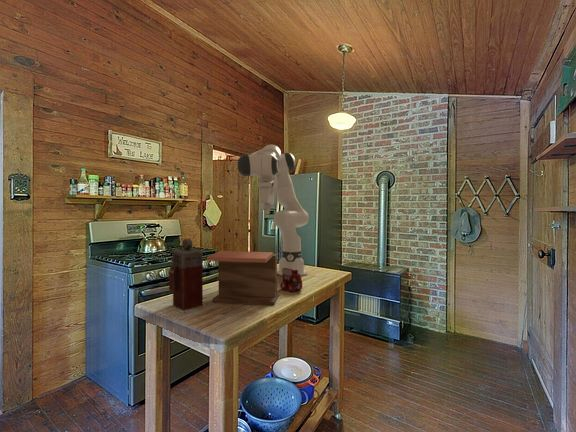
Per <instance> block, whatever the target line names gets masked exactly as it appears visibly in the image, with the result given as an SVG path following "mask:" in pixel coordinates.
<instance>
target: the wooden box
mask: <svg viewBox="0 0 576 432" xmlns="http://www.w3.org/2000/svg"><path fill="white" fill-rule="evenodd" d="M217 262H218V294H216V295H215V296H214V297H213V298H212V303H217V304H218V303H220V304H221V303H222V304H223V303H224V304H238V305H239V304H240V305H262V306H275V304H276V302H277V300H278V299H279V297H280V292H279V291H278V274H277V271H278V253H273V256H272V257H271V258H270V259H269V260H268V261H267V262H266V263H263V262H251V263H238V262H226V261H217Z"/></svg>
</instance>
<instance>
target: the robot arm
mask: <svg viewBox="0 0 576 432" xmlns="http://www.w3.org/2000/svg"><path fill="white" fill-rule="evenodd" d="M295 168H296V158H295V156H294V155H293V154H292V153H291V152H284V153H282V151H281V149H280V148H279V147H278V145H275V144H268V145H265V146H264V147H263V148H261V149H259V150H257V151H255V152H254V151H253V152H252V153H249V154H242V155H241V156H240V157H239V158H238V159H237V170H238V173H239V174H241V175H242V177H253V176H254V177H258V182H257V187H258V192H259V202H260V204H263V206H264V213H265V214H267V215H269V214H270V211H271V207H272V206H275V205H274V204H275V194H276V198H277V201H278V203H279V204H280V205H281V206H282V207H283V208H284V209H282V210H278V211H276V212H275V213H274V216H273V223H274V225H275V226H276V227H277V229H279V231H280V234H281V240H282V244H281V245H282V246H281V247H282V249H281V250H282V251H281V258H280V259H279V260H278V262H279V263H278V269H277V275H280V276H281V277H283V273H282V269H283V268H288V269H293V270H298V274H300V276H307V275H308V272H307V269H306V268H305V261H304V259H303V258H302V255H303V252H302V249H301V247H302V239H301V236H300V235H298V232H297V228H301V227H303V226H306V225H307V224H308V223H309V221H310V217H309V214H308V212H307V211H306V210H305V209H304V208H303V207H302V205H301V204H300V202H299V200H298V198H297V196H296V192H295V187H294V184H293V181H292V177H291V176H290V174H292V173H293V171H294V170H295ZM289 173H290V174H289ZM241 175H240V176H241Z"/></svg>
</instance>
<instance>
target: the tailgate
mask: <svg viewBox="0 0 576 432" xmlns="http://www.w3.org/2000/svg"><path fill="white" fill-rule="evenodd" d="M273 254H274V252H273V251H270V252H269V251H267V252H266V251H241V250H239V251H238V250H237V251H236V250H233V251H231V250H220V251H218V252H215V253H213V254H210V255H208V256H207V257H206V260H207V261H208V262H209V261H210V262H218V261H226V262H238V263H251V262H263V263H266V262H267V261H268V260H269V259H270V258H271V257H272V256H273Z"/></svg>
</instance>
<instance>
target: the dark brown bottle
mask: <svg viewBox="0 0 576 432" xmlns="http://www.w3.org/2000/svg"><path fill="white" fill-rule="evenodd" d="M192 241H193V240H192V239H191V238H184V239H183V241H182V249H181V248H179V249H174V250H172V264H170V268H169V271H168V289H169V290H170V291H171V292H172V301H173V302H172V305H174V306H173V307H175V306H177V307H178V309H179V308H180V310H181V309H182V310H181V311H186V309H187V310H190V308H191V309H194V308H198V307H202V306H203V302H204V301H203V299H204V298H203V297H204V296H203V294H204V293H203V288H204V287H203V286H204V285H203V251H202V250H201V249H197V248H194V247H193V242H192ZM177 307H176V308H177Z"/></svg>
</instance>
